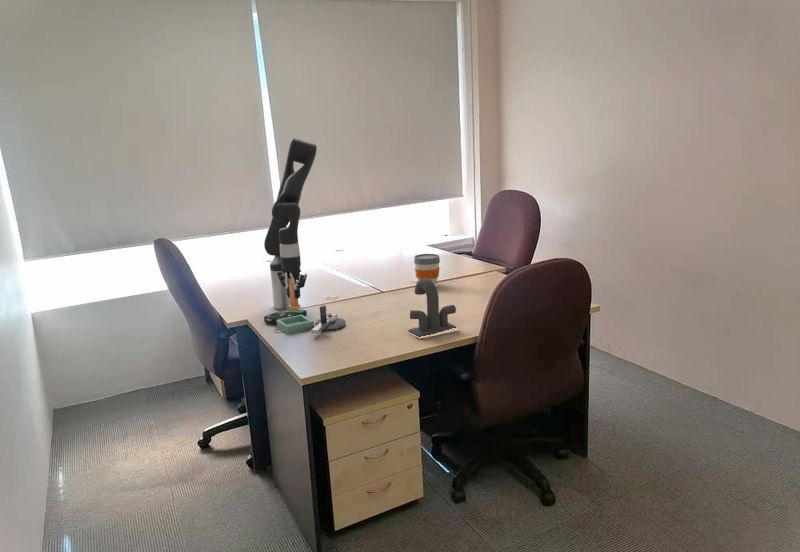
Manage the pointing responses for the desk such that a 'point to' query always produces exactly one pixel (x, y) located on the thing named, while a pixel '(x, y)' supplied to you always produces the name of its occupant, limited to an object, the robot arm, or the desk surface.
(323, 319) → the crank
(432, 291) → the faucet
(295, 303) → the stop peg
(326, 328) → the crank base
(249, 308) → the desk surface
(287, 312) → the disk drive
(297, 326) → the tray
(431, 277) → the reusable coffee cup
